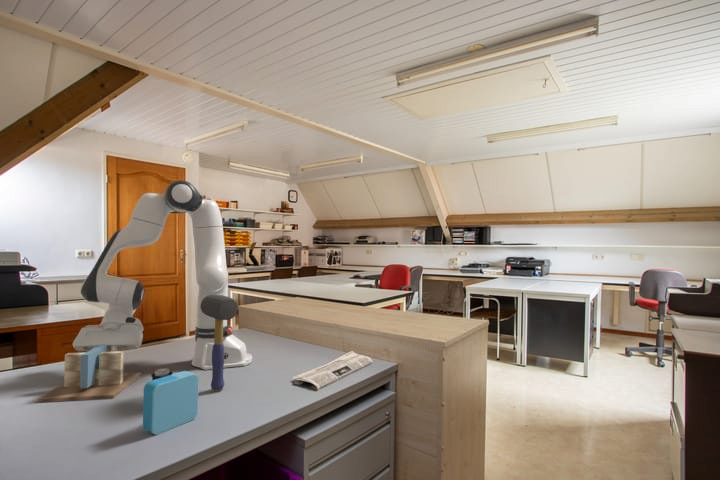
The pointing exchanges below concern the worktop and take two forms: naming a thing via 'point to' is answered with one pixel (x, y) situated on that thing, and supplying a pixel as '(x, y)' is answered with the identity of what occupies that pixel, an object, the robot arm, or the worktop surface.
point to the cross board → (88, 391)
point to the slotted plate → (90, 365)
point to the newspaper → (334, 370)
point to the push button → (161, 373)
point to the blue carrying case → (170, 402)
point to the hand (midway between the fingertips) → (100, 360)
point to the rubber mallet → (218, 332)
